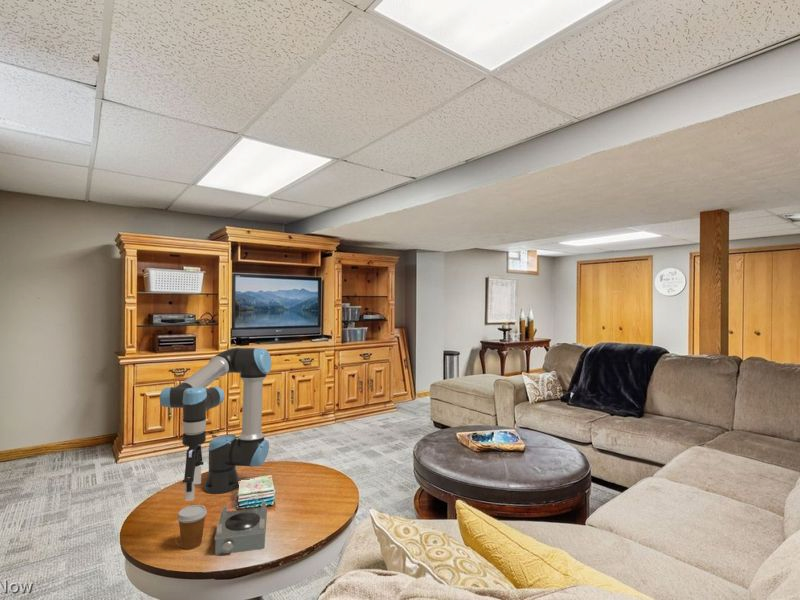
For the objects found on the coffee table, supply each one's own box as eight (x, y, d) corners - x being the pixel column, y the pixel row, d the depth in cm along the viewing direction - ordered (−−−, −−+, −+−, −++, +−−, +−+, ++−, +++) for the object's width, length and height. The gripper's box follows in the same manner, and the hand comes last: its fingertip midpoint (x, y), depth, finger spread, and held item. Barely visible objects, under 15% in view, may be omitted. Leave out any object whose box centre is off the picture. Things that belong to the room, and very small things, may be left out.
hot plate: (221, 527, 163) (221, 504, 163) (267, 522, 167) (267, 499, 167) (213, 557, 144) (214, 530, 144) (265, 550, 149) (265, 524, 149)
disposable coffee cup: (204, 549, 148) (204, 515, 148) (173, 554, 146) (174, 518, 146) (208, 535, 158) (208, 502, 158) (179, 539, 155) (180, 506, 155)
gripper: (189, 423, 163) (188, 478, 163) (174, 443, 139) (173, 509, 139) (210, 421, 165) (210, 476, 165) (199, 442, 141) (198, 506, 141)
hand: (193, 491), depth 152 cm, fingers open, 13 cm apart
